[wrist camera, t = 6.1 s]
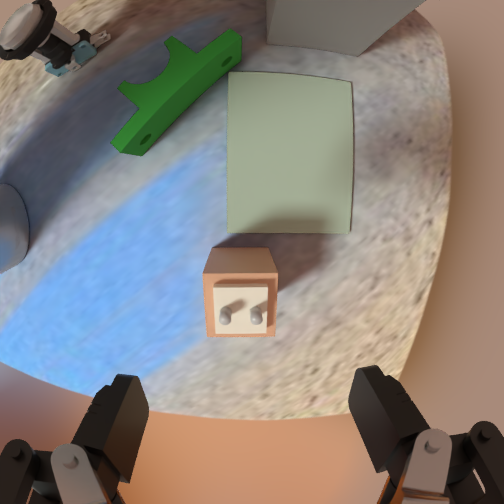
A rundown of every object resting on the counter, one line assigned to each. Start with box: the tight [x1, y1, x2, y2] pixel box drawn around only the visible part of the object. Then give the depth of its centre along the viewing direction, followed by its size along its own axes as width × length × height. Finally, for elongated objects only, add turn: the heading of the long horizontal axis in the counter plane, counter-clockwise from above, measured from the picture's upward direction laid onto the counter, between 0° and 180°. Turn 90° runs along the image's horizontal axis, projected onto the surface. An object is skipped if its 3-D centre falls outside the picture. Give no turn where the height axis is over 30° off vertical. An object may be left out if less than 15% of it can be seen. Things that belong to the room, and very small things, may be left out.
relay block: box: [203, 247, 278, 337], centre depth 19 cm, size 4×4×8 cm
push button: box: [0, 0, 111, 77], centre depth 11 cm, size 7×5×10 cm
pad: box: [227, 72, 353, 234], centre depth 20 cm, size 10×13×1 cm
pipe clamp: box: [110, 29, 242, 156], centre depth 16 cm, size 11×4×5 cm, turn 135°
